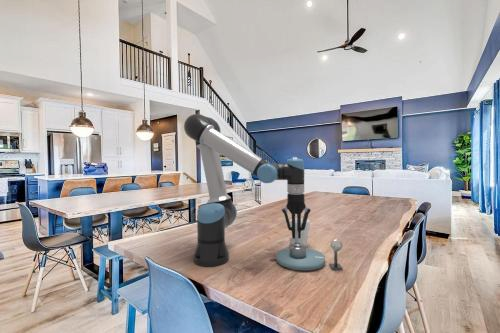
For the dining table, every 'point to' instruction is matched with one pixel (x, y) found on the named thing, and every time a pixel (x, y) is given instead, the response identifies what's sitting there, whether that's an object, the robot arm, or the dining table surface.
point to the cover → (297, 251)
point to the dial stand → (336, 246)
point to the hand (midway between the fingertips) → (296, 245)
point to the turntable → (309, 263)
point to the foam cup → (304, 232)
